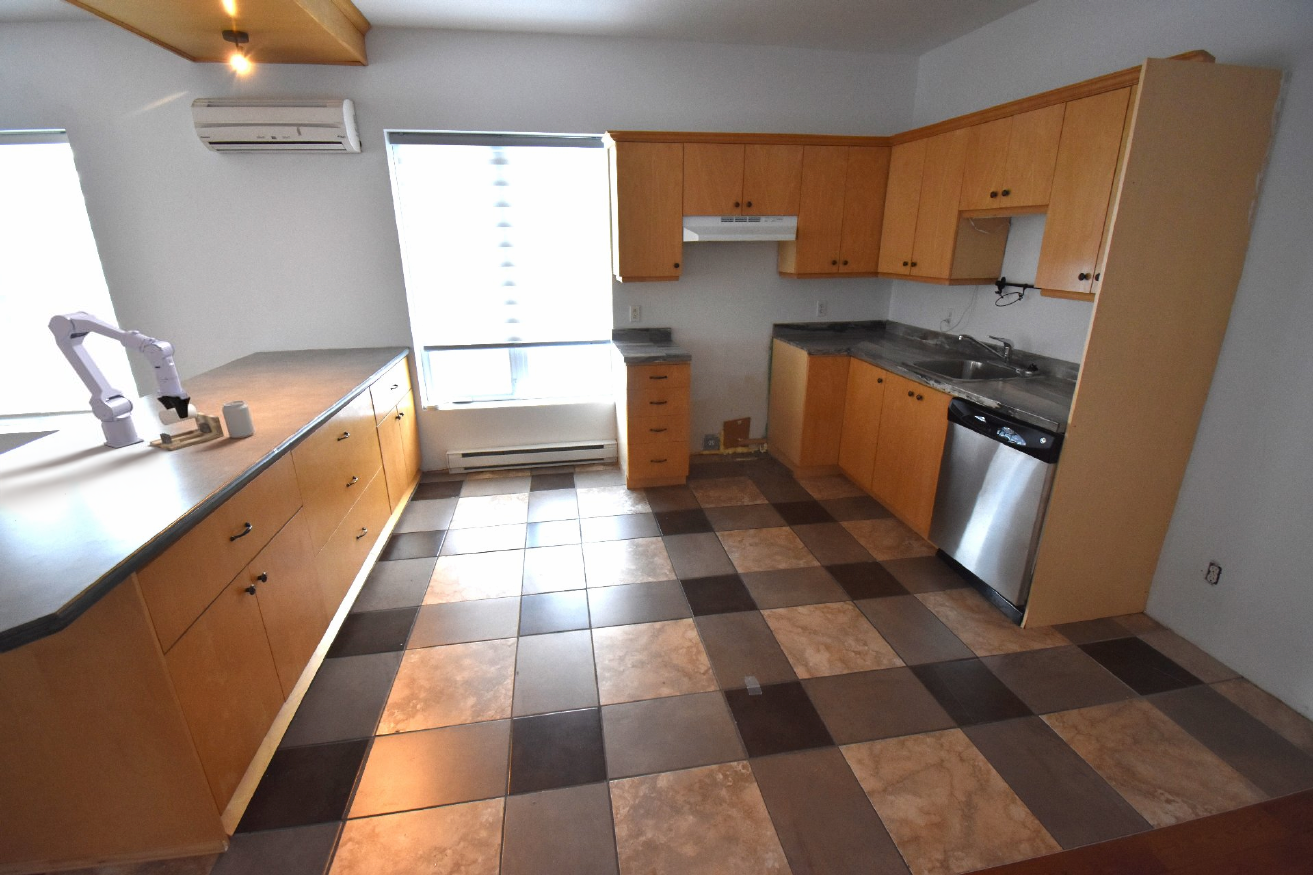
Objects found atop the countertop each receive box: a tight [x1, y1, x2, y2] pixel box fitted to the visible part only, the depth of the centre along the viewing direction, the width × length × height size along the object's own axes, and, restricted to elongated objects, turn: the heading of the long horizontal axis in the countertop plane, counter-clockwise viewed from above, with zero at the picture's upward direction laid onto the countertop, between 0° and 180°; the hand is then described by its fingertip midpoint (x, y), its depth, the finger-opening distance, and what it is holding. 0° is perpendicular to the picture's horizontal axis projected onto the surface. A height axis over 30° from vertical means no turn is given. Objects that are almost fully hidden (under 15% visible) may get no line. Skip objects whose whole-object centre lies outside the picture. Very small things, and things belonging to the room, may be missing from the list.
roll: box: [158, 403, 198, 426], centre depth 201 cm, size 5×9×5 cm, turn 154°
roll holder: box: [149, 411, 225, 452], centre depth 203 cm, size 14×16×7 cm
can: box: [221, 400, 255, 439], centre depth 206 cm, size 8×8×12 cm
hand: (179, 417), depth 201 cm, fingers closed on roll, 5 cm apart
